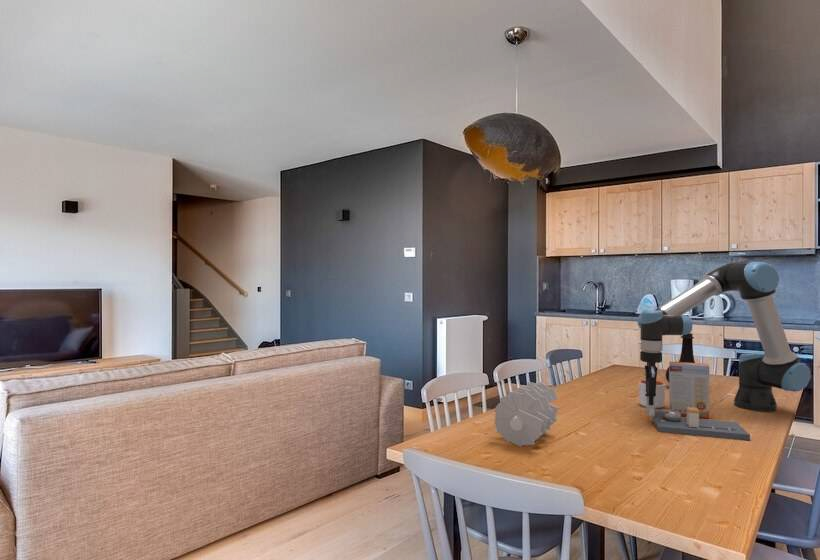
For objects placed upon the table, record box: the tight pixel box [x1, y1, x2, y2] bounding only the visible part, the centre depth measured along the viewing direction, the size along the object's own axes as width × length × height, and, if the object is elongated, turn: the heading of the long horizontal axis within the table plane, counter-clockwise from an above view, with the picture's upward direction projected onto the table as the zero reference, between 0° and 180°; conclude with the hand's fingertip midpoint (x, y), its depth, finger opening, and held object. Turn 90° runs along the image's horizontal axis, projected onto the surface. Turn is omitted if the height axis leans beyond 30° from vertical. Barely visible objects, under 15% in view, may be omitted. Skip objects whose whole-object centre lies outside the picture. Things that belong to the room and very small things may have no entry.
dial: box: [647, 408, 682, 422], centre depth 187 cm, size 11×6×3 cm, turn 72°
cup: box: [638, 379, 666, 409], centre depth 215 cm, size 10×10×10 cm
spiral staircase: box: [493, 381, 559, 448], centre depth 170 cm, size 18×18×25 cm
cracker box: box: [668, 361, 710, 419], centre depth 201 cm, size 14×6×21 cm, turn 65°
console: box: [651, 416, 751, 441], centre depth 181 cm, size 28×16×2 cm, turn 72°
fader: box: [686, 407, 700, 428], centre depth 178 cm, size 3×4×6 cm
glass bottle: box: [665, 332, 696, 384], centre depth 248 cm, size 18×18×28 cm
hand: (650, 412), depth 190 cm, fingers closed
